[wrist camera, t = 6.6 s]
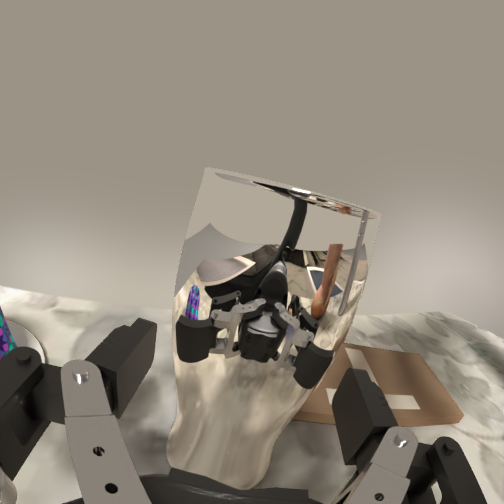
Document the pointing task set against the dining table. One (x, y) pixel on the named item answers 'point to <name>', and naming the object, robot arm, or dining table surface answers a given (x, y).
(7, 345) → the pudding
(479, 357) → the dining table surface
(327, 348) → the beer glass
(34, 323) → the dining table surface
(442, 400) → the board
